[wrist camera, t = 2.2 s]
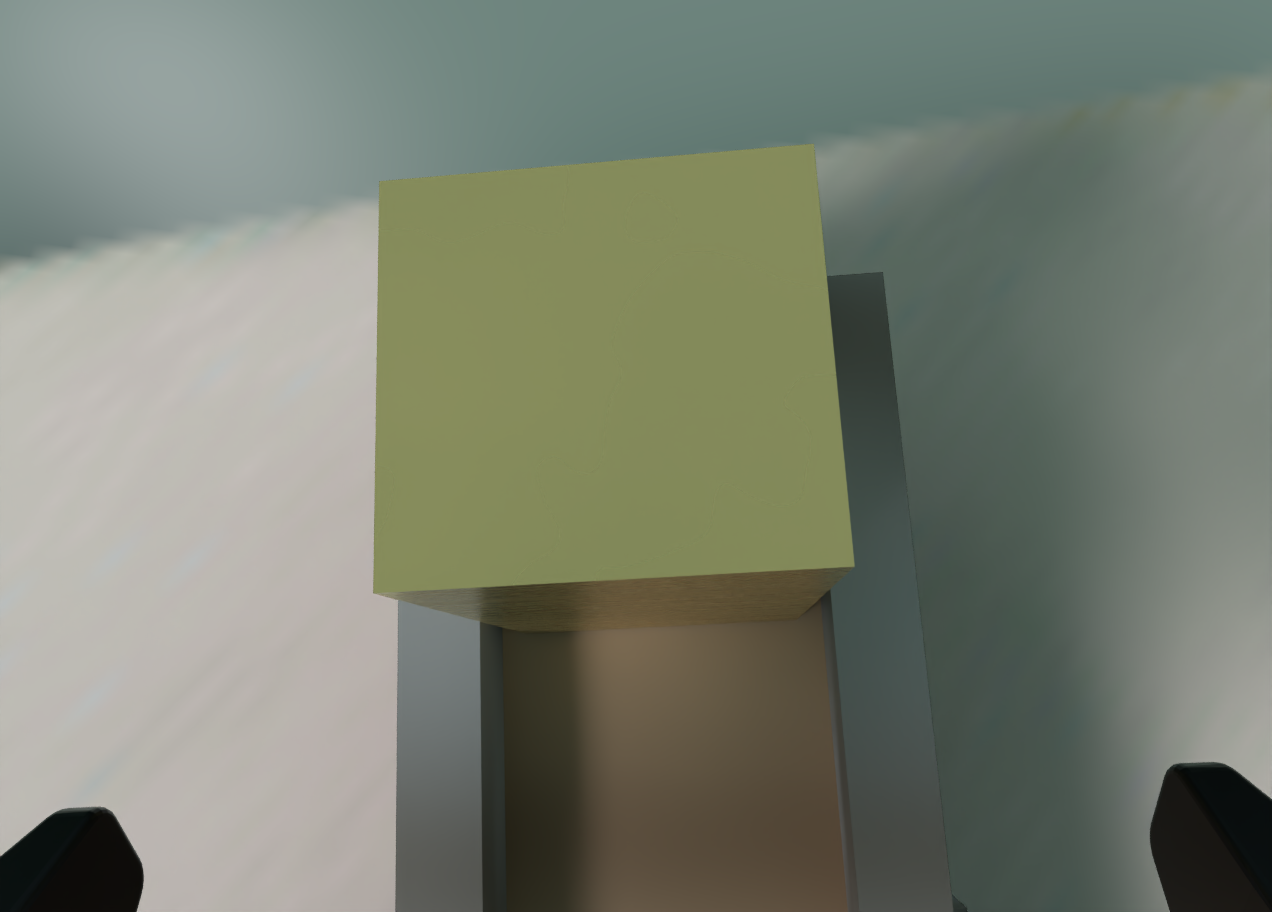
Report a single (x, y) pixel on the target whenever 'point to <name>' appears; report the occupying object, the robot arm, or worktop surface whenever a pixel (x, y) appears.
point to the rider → (609, 394)
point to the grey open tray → (692, 730)
